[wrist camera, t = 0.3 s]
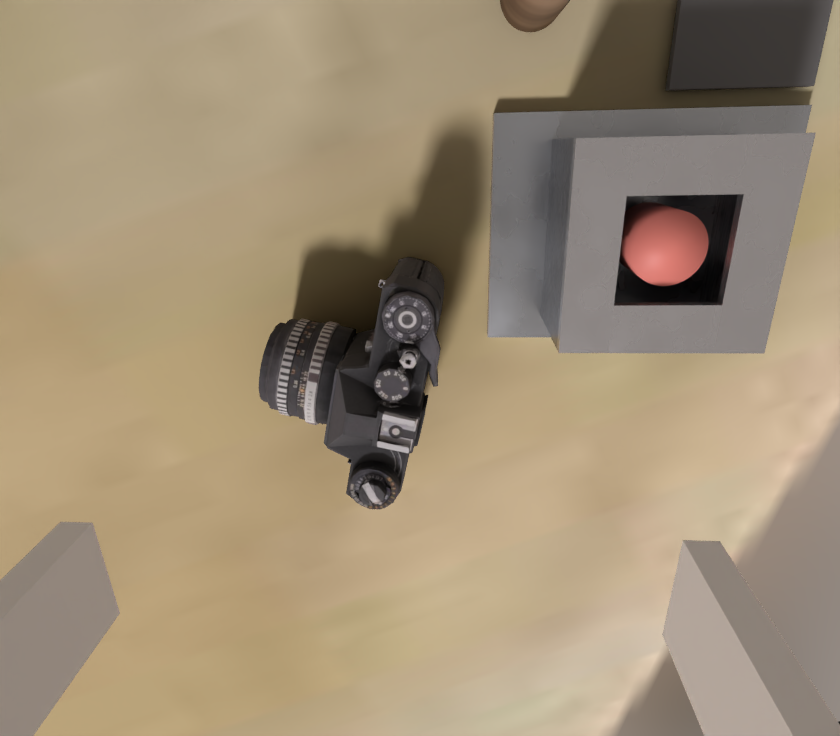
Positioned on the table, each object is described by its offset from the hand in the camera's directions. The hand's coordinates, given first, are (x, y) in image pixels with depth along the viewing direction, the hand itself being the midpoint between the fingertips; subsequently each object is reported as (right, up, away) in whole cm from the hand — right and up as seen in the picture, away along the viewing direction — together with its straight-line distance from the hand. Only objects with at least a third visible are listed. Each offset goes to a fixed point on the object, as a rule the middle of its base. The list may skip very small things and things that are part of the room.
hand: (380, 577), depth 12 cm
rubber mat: (+19, +25, +18) cm, 36 cm away
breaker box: (+14, +14, +23) cm, 30 cm away
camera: (-3, +6, +27) cm, 28 cm away
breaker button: (+14, +13, +20) cm, 28 cm away
